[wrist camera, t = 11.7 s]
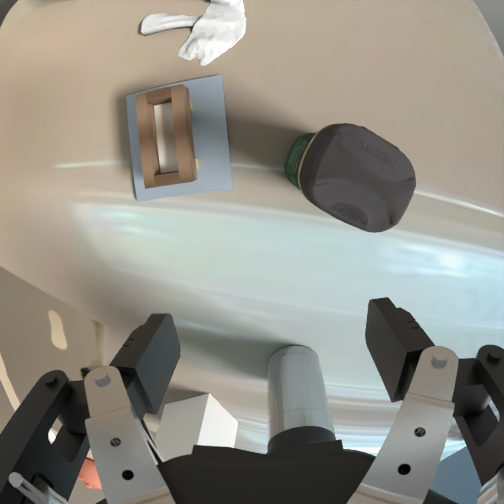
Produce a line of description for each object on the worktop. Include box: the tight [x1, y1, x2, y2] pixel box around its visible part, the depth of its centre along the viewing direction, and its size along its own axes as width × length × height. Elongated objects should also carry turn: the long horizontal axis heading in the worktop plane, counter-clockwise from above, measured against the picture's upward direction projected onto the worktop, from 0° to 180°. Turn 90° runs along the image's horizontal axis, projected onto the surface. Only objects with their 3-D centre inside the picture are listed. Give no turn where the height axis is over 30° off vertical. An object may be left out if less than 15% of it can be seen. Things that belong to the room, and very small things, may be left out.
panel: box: [126, 75, 233, 202], centre depth 34 cm, size 16×14×3 cm
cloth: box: [141, 0, 246, 66], centre depth 27 cm, size 20×22×2 cm
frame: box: [136, 84, 198, 189], centre depth 31 cm, size 12×6×3 cm, turn 5°
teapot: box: [78, 459, 102, 489], centre depth 68 cm, size 22×15×12 cm
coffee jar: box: [285, 123, 416, 232], centre depth 27 cm, size 10×8×19 cm
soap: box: [48, 430, 56, 442], centre depth 68 cm, size 9×7×3 cm
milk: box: [155, 393, 238, 461], centre depth 41 cm, size 12×12×26 cm
